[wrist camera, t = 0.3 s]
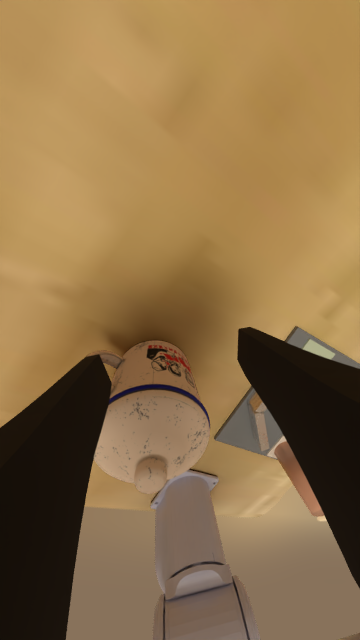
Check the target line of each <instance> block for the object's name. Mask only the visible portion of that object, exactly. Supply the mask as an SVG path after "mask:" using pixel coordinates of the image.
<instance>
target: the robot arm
mask: <svg viewBox="0 0 360 640" xmlns="http://www.w3.org/2000/svg"><path fill="white" fill-rule="evenodd" d="M237 360H238V362H239V364H240V366H241V368H242V370H243V372H244V374H245V376H246V377H247V379H248V381H249V382H250V384H251V385H252V387H253V388H254V390H255V391H256V393H257V394H258V396H259V397H260V399H261V400H262V402H263V403H264V405H265V406H266V408H267V409H268V411H269V412H270V414H271V415H272V417H273V418H274V420H275V421H276V423H277V425H278V426H279V428H280V430H281V432H282V434H283V435H284V437H285V439H286V441H287V443H288V444H289V446H290V448H291V450H292V452H293V454H294V456H295V458H296V460H297V461H298V463H299V465H300V467H301V469H302V471H303V473H304V475H305V477H306V479H307V481H308V483H309V485H310V487H311V489H312V491H313V493H314V495H315V497H316V499H317V501H318V503H319V505H320V507H321V509H322V511H323V513H324V515H325V517H326V520H327V522H328V524H329V526H330V528H331V530H332V532H333V534H334V537H335V539H336V541H337V543H338V545H339V547H340V549H341V551H342V554H343V556H344V558H345V560H346V563H347V565H348V567H349V569H350V572H351V574H352V576H353V577H354V579H355V581H356V583H357V584H358V586H359V588H360V369H359V368H355V367H352V366H349V365H346V364H343V363H340V362H337V361H333V360H330V359H328V358H325V357H322V356H319V355H317V354H314V353H311V352H309V351H306V350H303V349H301V348H298V347H296V346H294V345H291V344H289V343H286V342H284V341H282V340H280V339H277V338H275V337H273V336H271V335H268V334H266V333H264V332H261V331H259V330H257V329H254V328H251V327H247V328H241V329H239V331H238V358H237ZM111 386H112V383H111V381H110V378H109V376H108V374H107V371H106V369H105V367H104V364H103V362H102V359H101V357H100V355H99V354H97V355H92V356H87V357H85V358H84V359H83V360H81V361H80V362H79V363H78V364H77V365H75V366H74V367H73V368H72V369H71V370H70V371H69V372H68V373H66V374H65V375H64V376H63V377H62V378H61V379H60V380H58V381H57V382H56V383H55V384H54V385H53V386H52V387H50V388H49V389H48V390H47V391H46V392H45V393H43V394H42V395H41V396H40V397H39V398H37V399H36V400H35V401H34V402H32V403H31V404H30V405H29V406H28V407H26V408H25V409H24V410H23V411H22V412H20V413H19V414H18V415H17V416H15V417H14V418H13V419H11V420H10V421H9V422H7V423H6V424H5V425H4V426H2V427H1V428H0V640H66V631H67V623H68V615H69V607H70V599H71V591H72V583H73V574H74V568H75V562H76V555H77V547H78V541H79V534H80V528H81V522H82V516H83V510H84V505H85V499H86V493H87V488H88V483H89V478H90V472H91V467H92V463H93V459H94V455H95V451H96V448H97V444H98V441H99V437H100V434H101V430H102V427H103V423H104V420H105V416H106V413H107V409H108V405H109V400H110V394H111ZM218 481H219V479H218V477H216V476H212V475H208V474H204V473H200V472H196V471H192V470H187V471H186V472H184V473H182V474H181V475H179V476H177V477H174V478H172V479H169V480H167V482H166V483H165V485H164V487H163V488H162V489H161V490H160V492H159V493H158V494H157V496H156V497H155V499H154V500H153V501H152V503H151V508H152V509H156V526H155V528H156V529H155V568H156V574H157V579H158V582H159V584H160V587H161V589H162V591H163V592H164V594H162V595H160V597H159V601H158V602H157V605H156V607H155V613H154V625H153V640H260V636H259V632H258V628H257V624H256V620H255V617H254V613H253V610H252V606H251V603H250V600H249V597H248V594H247V591H246V588H245V586H244V584H243V583H242V582H241V581H240V580H239V578H238V577H237V576H236V575H235V576H232V575H231V571H230V567H229V565H228V564H227V565H226V561H225V556H224V552H223V548H222V543H221V539H220V534H219V530H218V526H217V521H216V517H215V512H214V508H213V504H212V499H211V495H210V491H211V490H212V489H213V488H214V486H215V485H216V484H217V483H218ZM338 640H360V633H358V634H354V635H351V636H348V637H345V638H341V639H338Z"/></svg>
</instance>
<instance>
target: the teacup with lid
mask: <svg viewBox="0 0 360 640" xmlns="http://www.w3.org/2000/svg"><path fill="white" fill-rule="evenodd" d="M97 354H99V355H100V357H101V359H102V362H103V363H106V364H109V365H111V366H113V367H114V368H116V369H117V370H116V373H115V375H114V377H113V380H112V382H111V383H112V386H111V394H110V400H109V405H108V409H107V413H106V416H105V420H104V423H103V427H102V430H101V434H100V437H99V441H98V444H97V448H96V451H95V455H94V460H95V462H96V463H97V464H98V466H99V467H100V468H101V469H102V470H103V471H104V472H106V473H107V474H109V475H110V476H112V477H114V478H116V479H119V480H121V481H125V482H129V483H135V486H136V488H137V489H138V490H139V491H140V492H142V493H145V494H151V493H155V492H158V491H159V490H161V489H162V488H163V487H164V485H165V483H166V481H167V480H169V479H172V478H174V477H177V476H179V475H181V474H182V473H184V472H186V471H187V470H189V469H190V468H191V467H192V466H193V465H194V464H196V463H197V461H198V460H199V459H200V458H201V456H202V455H203V453H204V451H205V449H206V447H207V444H208V441H209V436H210V421H209V417H208V413H207V411H206V409H205V407H204V406H203V404H202V403H201V401H200V398H199V395H198V392H197V388H196V385H195V382H194V379H193V376H192V372H191V369H190V366H189V363H188V360H187V358H186V356H185V355H184V353H183V352H182V351H181V350H180V349H179V348H177V347H176V346H174V345H173V344H170V343H168V342H164V341H157V340H153V341H146V342H142V343H139V344H137V345H135V346H133V347H132V348H130V349H129V350H128V351H127V352H126V353H125V354H124V356H123V357H120V356H119V355H117V354H115V353H113V352H110V351H95V352H92V353H90V354H89V355H87V356H92V355H97ZM87 356H86V357H87Z"/></svg>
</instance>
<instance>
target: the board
mask: <svg viewBox="0 0 360 640" xmlns="http://www.w3.org/2000/svg"><path fill="white" fill-rule="evenodd" d="M285 342H286V343H289V344H291V345H294V346H296V347H298V348H301V349H303V350H306V351H309V352H311V353H314V354H317V355H319V356H322V357H325V358H328V359H330V360H333V361H337V362H340V363H343V364H346V365H349V366H352V367H355V368H359V369H360V364H359V363H357V362H355V361H354V360H352V359H350V358H349V357H347V356H345V355H344V354H342V353H340V352H339V351H337V350H335V349H334V348H332V347H330V346H329V345H327V344H325V343H324V342H322V341H320V340H319V339H317V338H315V337H314V336H312V335H310V334H309V333H307V332H305V331H304V330H302V329H300V328H299V327H295V328H294V330H293V331H292V332H291V334H290V335H289V336H288V338H287V339H286V340H285ZM254 391H255V390H254V388H253V387H251V388H250V389H249V391H248V392H247V393H246V395H245V396H244V397H243V399H242V400H241V402H240V403H239V404H238V406H237V407H236V408H235V410H234V411H233V412H232V414H231V415H230V417H229V418H228V419H227V421H226V422H225V423H224V425H223V426H222V427H221V429H220V430H219V431H218V433H217V434H216V436H215V437H214V439H215V440H217V441H220V442H223V443H226V444H229V445H232V446H236V447H239V448H242V449H245V450H248V451H252V452H255V453H258V454H261V455H264V456H267V457H271V458H274V459H277V457H276V456H275V454H274V451H275V448H276V447H277V446H278V445H279V444H280V443H282V442H285V441H286V439H285V437H284V435H283V434H282V432H281V430H280V428H279V426H278V425H277V423H276V421H275V420H274V418H273V417H272V415H271V414H270V412H269V411H268V409H266V410H265V411H264V418H265V425H266V431H267V437H268V443H269V449H267V450H264V451H261V450H260V448H259V446H258V444H257V442H256V441H255V439H254V435H253V430H252V425H251V420H250V415H249V410H248V405H247V402H249V401H248V399H249V397H250V396H251V395H252V393H253V392H254ZM277 460H278V459H277Z"/></svg>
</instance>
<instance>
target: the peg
mask: <svg viewBox="0 0 360 640" xmlns="http://www.w3.org/2000/svg"><path fill="white" fill-rule="evenodd" d="M274 454H275V456H276V457H277V459H278V460H279V462H280V464H281V465H282V467H283V469H284V470H285V472H286V473H287V475H288V477H289V478H290V480H291V482H292V483H293V485H294V486H295V488H296V490H297V491H298V493H299V494H300V496H301V497H302V499H303V501H304V503H305V504H306V506H307V507H308V509H309V510H310V512H311V514H312V515H313V516H323V515H324V513H323V511H322V509H321V507H320V505H319V503H318V501H317V499H316V497H315V495H314V493H313V491H312V489H311V487H310V485H309V483H308V481H307V479H306V477H305V475H304V473H303V471H302V469H301V467H300V465H299V463H298V461H297V460H296V458H295V456H294V454H293V452H292V450H291V448H290V446H289V444H288V443H287V441H285V442H282V443H280V444H279V445H278V446H277V447H276V448H275V451H274Z"/></svg>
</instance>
